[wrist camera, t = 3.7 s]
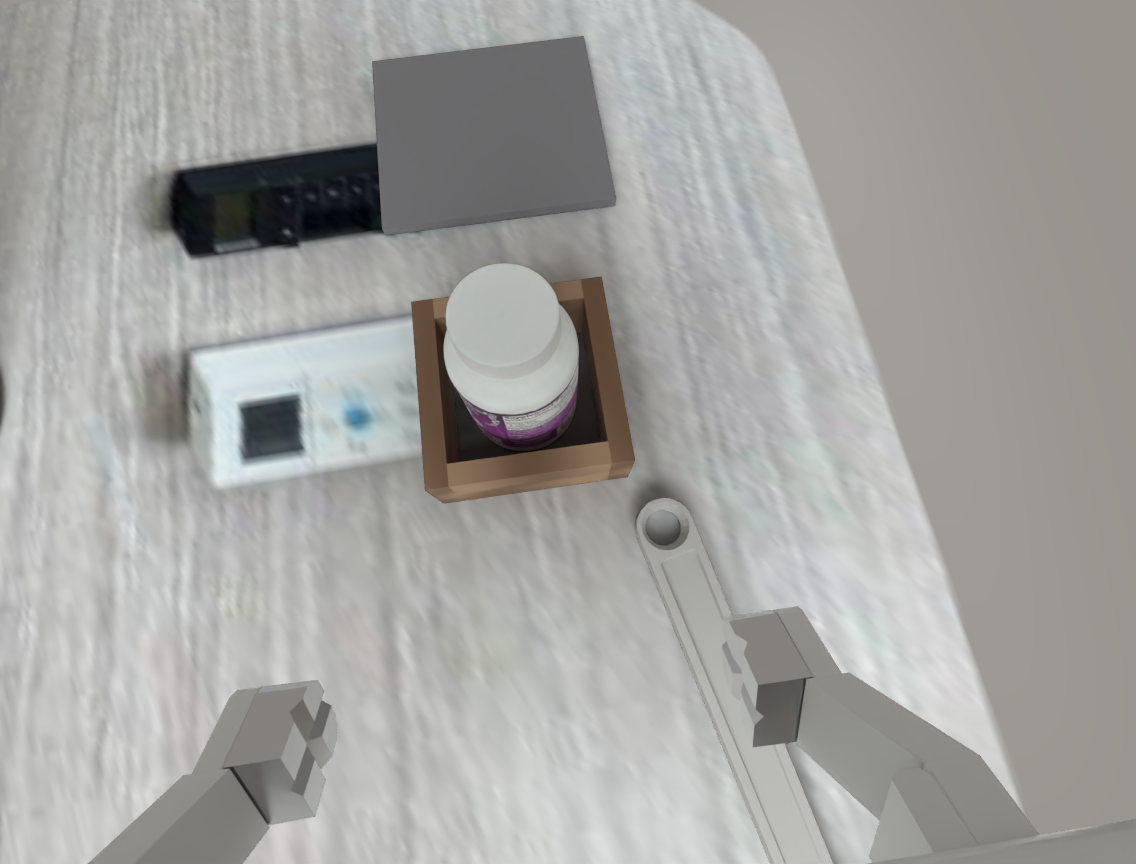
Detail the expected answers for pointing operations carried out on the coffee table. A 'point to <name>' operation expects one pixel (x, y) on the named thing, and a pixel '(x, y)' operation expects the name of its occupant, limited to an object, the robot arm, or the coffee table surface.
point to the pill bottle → (512, 355)
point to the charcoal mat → (488, 136)
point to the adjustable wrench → (728, 692)
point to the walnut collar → (532, 468)
